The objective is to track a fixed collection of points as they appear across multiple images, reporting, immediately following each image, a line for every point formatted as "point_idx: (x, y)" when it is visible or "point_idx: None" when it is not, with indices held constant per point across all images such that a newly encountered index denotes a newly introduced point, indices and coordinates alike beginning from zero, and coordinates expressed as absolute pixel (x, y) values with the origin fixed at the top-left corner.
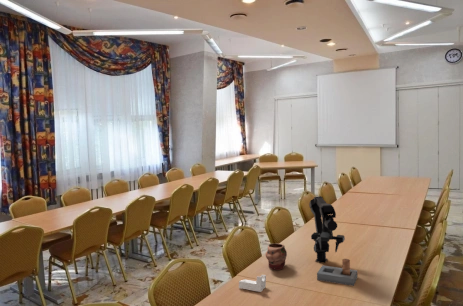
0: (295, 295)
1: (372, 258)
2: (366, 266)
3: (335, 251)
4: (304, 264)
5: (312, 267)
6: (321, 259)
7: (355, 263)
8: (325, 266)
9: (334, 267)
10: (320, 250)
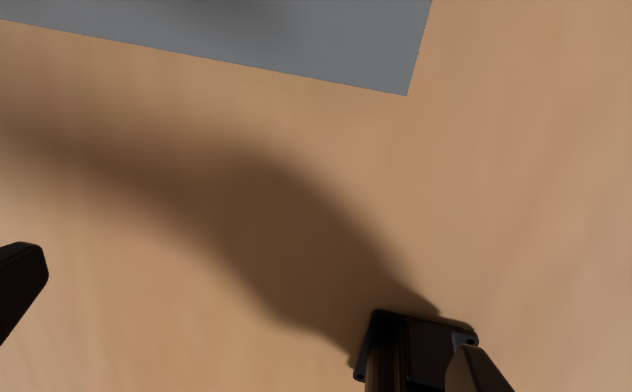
0: None
1: (44, 386)
2: None
3: (8, 255)
4: (626, 262)
5: (531, 190)
6: (413, 338)
7: (118, 312)
8: (351, 56)
9: (205, 43)
10: (466, 344)
